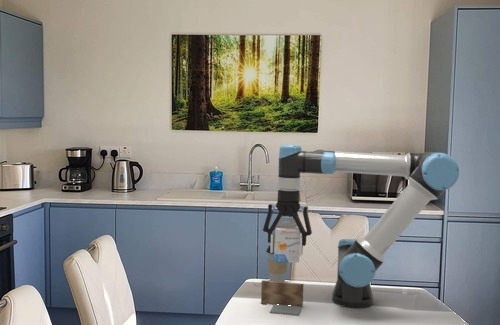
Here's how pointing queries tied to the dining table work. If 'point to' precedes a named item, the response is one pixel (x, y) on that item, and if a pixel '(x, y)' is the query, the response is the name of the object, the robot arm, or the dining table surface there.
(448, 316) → the dining table surface
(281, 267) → the coffee cup
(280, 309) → the mat
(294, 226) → the ink box
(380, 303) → the dining table surface
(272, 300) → the wooden stand
